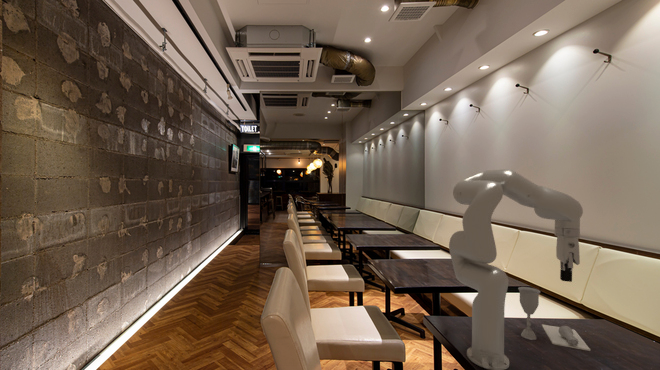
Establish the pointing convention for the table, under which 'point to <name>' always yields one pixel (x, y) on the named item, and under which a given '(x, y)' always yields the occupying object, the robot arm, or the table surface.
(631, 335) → the table surface
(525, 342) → the table surface
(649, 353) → the table surface
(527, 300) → the chalice
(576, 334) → the grey mat
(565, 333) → the rook chess piece
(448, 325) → the table surface
